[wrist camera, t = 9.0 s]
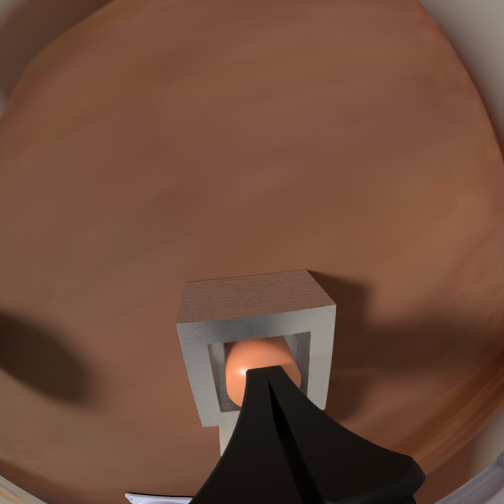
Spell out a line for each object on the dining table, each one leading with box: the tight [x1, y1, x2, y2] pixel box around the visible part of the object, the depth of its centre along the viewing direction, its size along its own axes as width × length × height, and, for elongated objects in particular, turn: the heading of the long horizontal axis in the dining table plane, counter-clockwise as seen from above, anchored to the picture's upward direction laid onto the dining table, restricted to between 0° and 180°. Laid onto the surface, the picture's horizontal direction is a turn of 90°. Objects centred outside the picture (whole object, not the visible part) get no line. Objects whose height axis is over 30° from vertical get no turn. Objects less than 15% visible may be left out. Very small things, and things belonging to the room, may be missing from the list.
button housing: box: [176, 270, 336, 427], centre depth 13 cm, size 6×6×4 cm
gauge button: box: [224, 336, 301, 407], centre depth 12 cm, size 3×3×2 cm
